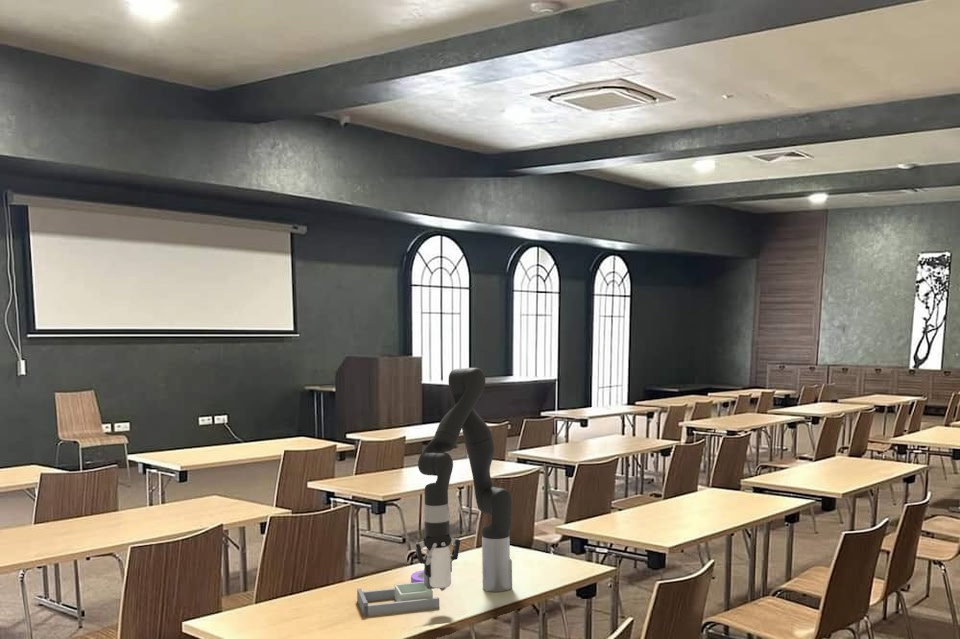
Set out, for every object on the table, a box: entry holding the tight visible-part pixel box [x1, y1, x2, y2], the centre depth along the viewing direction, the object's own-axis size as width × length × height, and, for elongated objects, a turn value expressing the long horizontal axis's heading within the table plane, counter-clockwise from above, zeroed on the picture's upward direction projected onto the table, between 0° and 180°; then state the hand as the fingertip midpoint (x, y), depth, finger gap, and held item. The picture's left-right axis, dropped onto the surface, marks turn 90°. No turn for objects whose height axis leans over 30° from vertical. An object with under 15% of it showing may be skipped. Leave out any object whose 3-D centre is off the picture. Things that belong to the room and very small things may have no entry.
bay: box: [356, 587, 440, 617], centre depth 236 cm, size 23×14×5 cm, turn 107°
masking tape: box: [410, 569, 443, 590], centre depth 258 cm, size 12×12×4 cm
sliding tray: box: [394, 567, 434, 602], centre depth 238 cm, size 10×10×10 cm
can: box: [429, 546, 452, 589], centre depth 229 cm, size 6×6×12 cm
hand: (438, 575), depth 229 cm, fingers closed on can, 5 cm apart
